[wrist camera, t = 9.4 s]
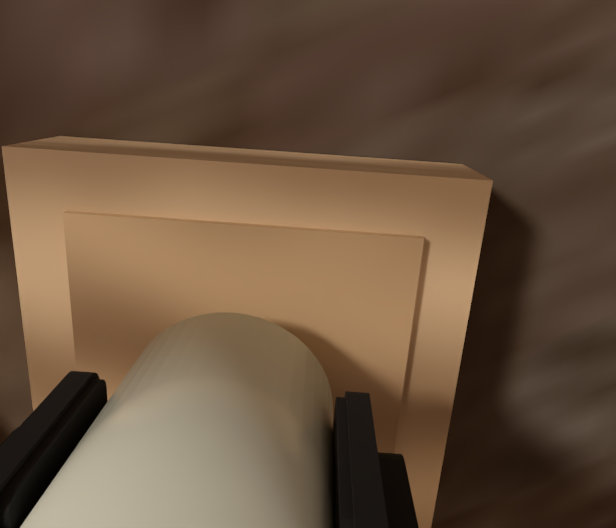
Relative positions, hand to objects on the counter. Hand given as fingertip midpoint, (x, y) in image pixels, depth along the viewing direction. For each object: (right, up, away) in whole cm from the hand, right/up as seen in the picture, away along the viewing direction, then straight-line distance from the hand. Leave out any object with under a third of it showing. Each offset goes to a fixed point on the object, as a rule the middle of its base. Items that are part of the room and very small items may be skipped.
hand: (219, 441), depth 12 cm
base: (0, +2, +6) cm, 6 cm away
